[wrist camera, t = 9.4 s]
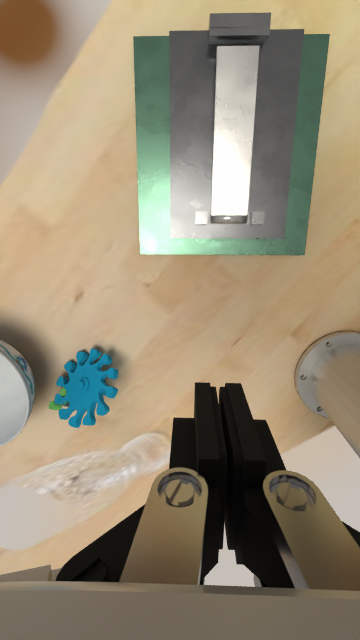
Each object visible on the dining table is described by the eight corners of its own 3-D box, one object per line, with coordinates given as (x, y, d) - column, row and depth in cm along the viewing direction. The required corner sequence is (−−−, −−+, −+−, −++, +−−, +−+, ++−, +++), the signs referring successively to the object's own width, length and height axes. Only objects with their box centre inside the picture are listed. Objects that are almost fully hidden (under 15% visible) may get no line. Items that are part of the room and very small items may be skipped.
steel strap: (257, 51, 27) (259, 45, 26) (245, 223, 32) (247, 223, 31) (216, 51, 27) (217, 45, 26) (210, 223, 32) (211, 223, 31)
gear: (105, 334, 40) (117, 410, 35) (132, 347, 44) (145, 415, 40) (43, 367, 43) (45, 441, 38) (74, 376, 48) (80, 442, 43)
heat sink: (327, 37, 32) (367, -20, 24) (302, 254, 38) (329, 260, 30) (134, 40, 32) (118, -16, 25) (140, 253, 38) (129, 258, 31)
